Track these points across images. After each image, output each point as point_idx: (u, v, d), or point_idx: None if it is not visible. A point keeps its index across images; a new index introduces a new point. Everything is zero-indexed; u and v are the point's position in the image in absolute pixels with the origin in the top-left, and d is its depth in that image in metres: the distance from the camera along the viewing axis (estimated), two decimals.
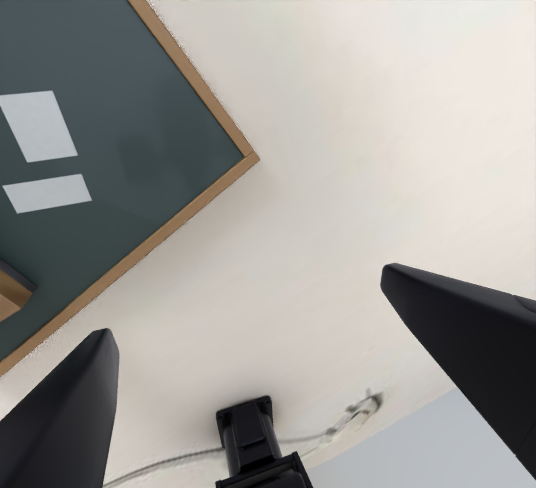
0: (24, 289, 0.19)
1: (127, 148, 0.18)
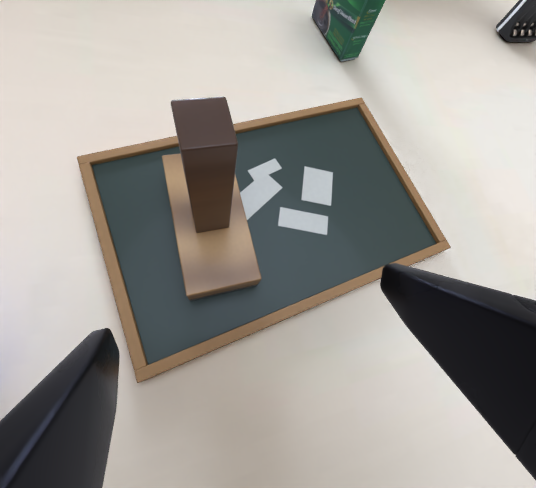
0: None
1: (361, 211, 0.26)
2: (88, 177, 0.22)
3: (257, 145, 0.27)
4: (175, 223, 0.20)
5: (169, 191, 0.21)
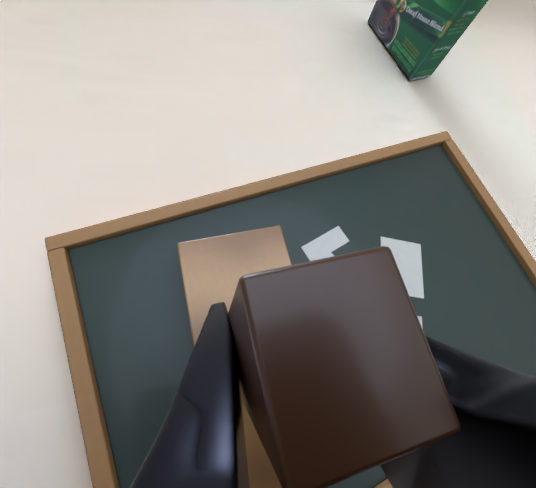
0: None
1: (467, 305, 0.18)
2: (60, 273, 0.14)
3: (312, 206, 0.18)
4: None
5: (190, 308, 0.12)
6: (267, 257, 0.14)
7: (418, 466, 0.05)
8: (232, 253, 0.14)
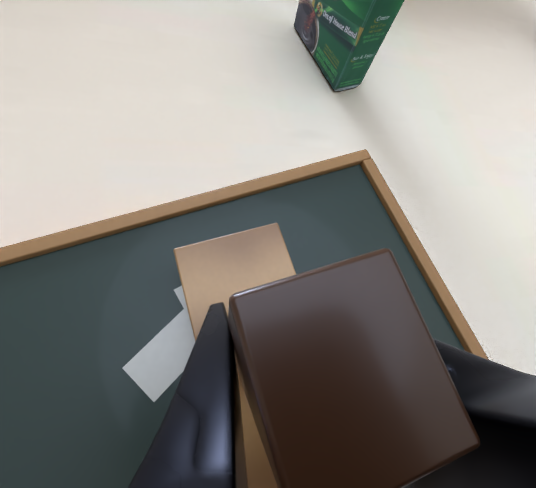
0: None
1: None
2: None
3: (195, 240, 0.16)
4: None
5: (191, 315, 0.12)
6: (266, 256, 0.14)
7: None
8: (230, 255, 0.13)
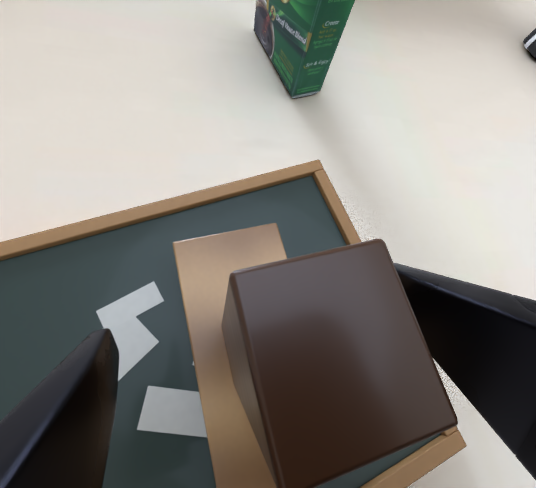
0: None
1: None
2: None
3: (124, 257, 0.15)
4: (198, 370, 0.12)
5: (186, 308, 0.12)
6: (264, 255, 0.14)
7: None
8: (228, 252, 0.14)
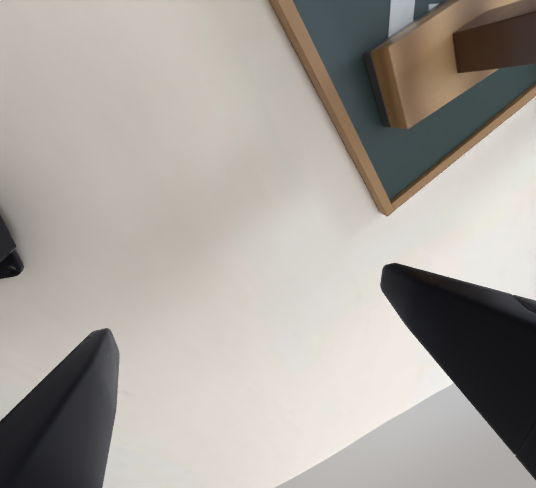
0: None
1: None
2: None
3: None
4: (463, 0, 0.17)
5: None
6: None
7: None
8: None
